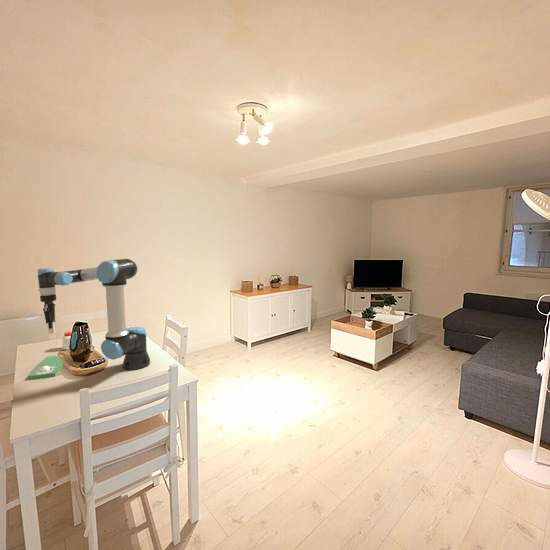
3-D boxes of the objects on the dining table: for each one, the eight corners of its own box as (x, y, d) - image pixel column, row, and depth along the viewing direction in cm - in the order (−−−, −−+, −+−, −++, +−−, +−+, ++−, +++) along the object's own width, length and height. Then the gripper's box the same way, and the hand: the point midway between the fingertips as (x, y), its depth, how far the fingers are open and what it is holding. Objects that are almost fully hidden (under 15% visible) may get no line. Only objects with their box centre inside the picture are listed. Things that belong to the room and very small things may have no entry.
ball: (52, 367, 173) (49, 363, 170) (50, 374, 170) (47, 371, 167) (43, 368, 171) (40, 364, 168) (40, 375, 168) (38, 372, 165)
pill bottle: (78, 348, 207) (77, 332, 206) (64, 351, 202) (63, 335, 200) (75, 345, 213) (73, 330, 211) (61, 348, 207) (60, 332, 206)
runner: (69, 357, 192) (69, 354, 192) (55, 376, 166) (54, 372, 166) (46, 359, 188) (46, 356, 188) (28, 379, 162) (28, 376, 162)
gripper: (44, 292, 181) (48, 330, 184) (35, 296, 169) (40, 337, 172) (59, 292, 184) (62, 329, 187) (51, 295, 172) (55, 335, 175)
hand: (51, 333), depth 180 cm, fingers closed
